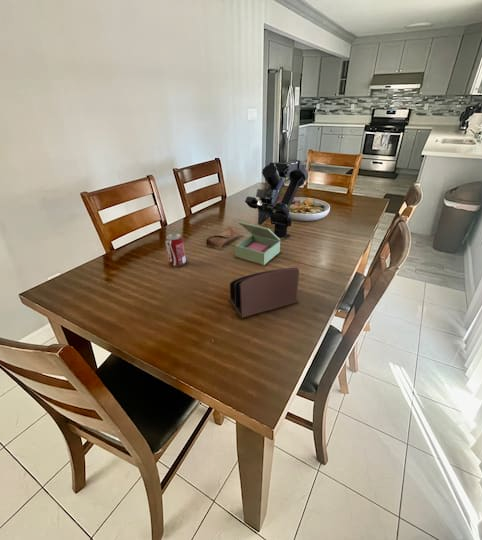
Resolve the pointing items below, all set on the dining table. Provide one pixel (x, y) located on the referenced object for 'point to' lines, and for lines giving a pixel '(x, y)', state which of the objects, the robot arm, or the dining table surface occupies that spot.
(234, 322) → the dining table surface
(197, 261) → the dining table surface
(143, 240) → the dining table surface
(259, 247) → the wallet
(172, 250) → the soda can
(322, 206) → the bowl
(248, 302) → the letter holder
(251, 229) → the lid
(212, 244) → the sunglasses case
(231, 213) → the dining table surface
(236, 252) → the keepsake box
